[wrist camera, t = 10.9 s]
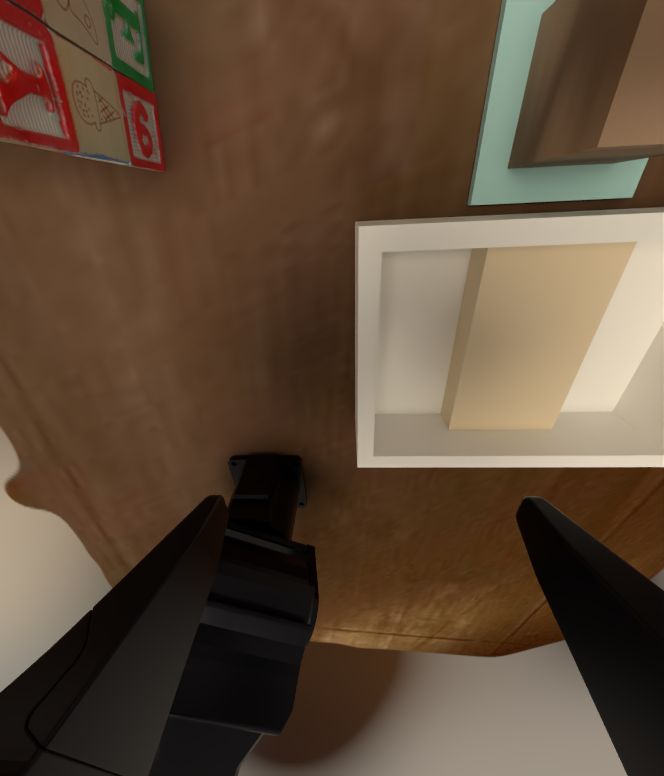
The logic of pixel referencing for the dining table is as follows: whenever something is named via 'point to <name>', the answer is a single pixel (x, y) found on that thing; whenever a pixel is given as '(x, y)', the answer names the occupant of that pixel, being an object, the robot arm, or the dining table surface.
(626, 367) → the crate
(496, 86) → the teal pad
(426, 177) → the dining table surface
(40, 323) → the dining table surface
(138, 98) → the stack of blocks
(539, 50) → the walnut block
